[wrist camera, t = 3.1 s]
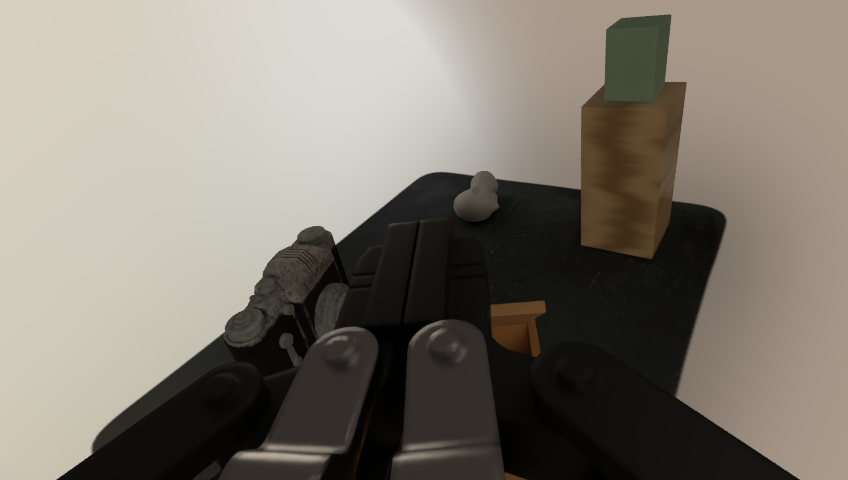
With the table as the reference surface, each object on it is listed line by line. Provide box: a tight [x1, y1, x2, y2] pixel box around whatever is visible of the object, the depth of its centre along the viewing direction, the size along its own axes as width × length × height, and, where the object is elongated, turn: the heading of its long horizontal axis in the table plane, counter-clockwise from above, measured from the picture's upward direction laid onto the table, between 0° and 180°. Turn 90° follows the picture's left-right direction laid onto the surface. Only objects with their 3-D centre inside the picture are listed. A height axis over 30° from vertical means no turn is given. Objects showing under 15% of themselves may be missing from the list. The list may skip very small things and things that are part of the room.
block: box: [604, 15, 671, 102], centre depth 39 cm, size 4×4×6 cm
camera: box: [224, 226, 349, 378], centre depth 41 cm, size 15×7×10 cm, turn 163°
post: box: [581, 82, 686, 259], centre depth 45 cm, size 7×7×15 cm
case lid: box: [490, 301, 546, 322], centre depth 29 cm, size 11×7×1 cm
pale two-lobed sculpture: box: [454, 171, 499, 222], centre depth 58 cm, size 4×8×5 cm
